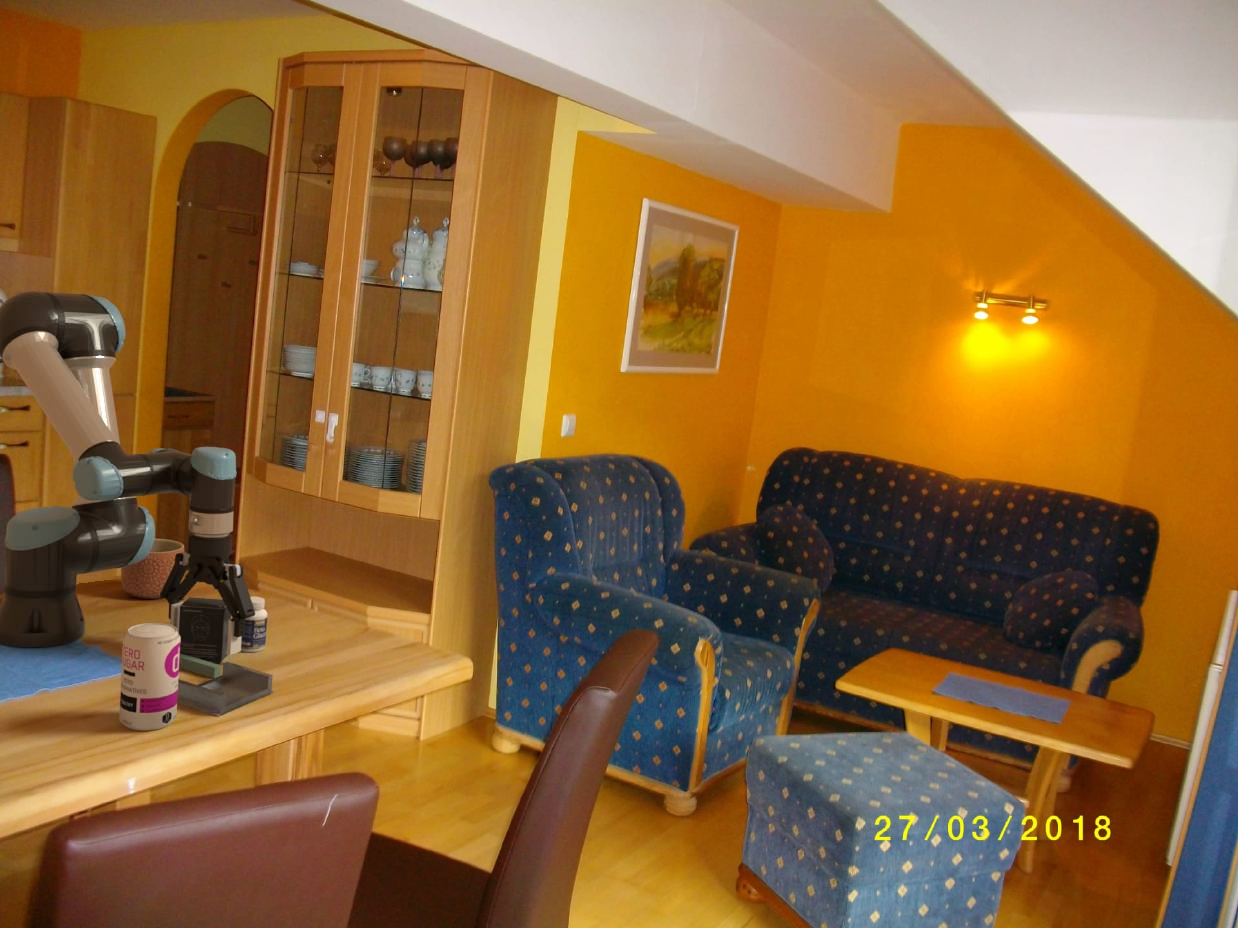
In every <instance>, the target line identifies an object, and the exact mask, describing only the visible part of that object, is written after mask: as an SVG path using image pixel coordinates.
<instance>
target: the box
mask: <svg viewBox="0 0 1238 928" xmlns="http://www.w3.org/2000/svg"><path fill="white" fill-rule="evenodd" d="M183 602H184V603H182V604H181V605H180V612H179V636H180V637H181V640H180V653H181V654H184V655H187V656H191V657H194V658H198V659H201V660H204V661H208V662H211V663H215V664H217V663H219V664H221V663H223V661H224V660H225V659H226V658H227V656H229V655H228V654H227V642H228V623H229V619H232V616H231V614H230V612H229V610H228V609H227V607H226V605H225V603H224V601H223V599H222V598H221V599H219V598H218V599H217V598H206V597H205V598H203V597H188V598H187V599H186V600H185V601H183Z"/></svg>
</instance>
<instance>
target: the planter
mask: <svg viewBox="0 0 1238 928" xmlns="http://www.w3.org/2000/svg"><path fill="white" fill-rule="evenodd" d="M182 552H185V545H184V544H183V543H182V542H179V541H176V540H172V539H166V538H155V539H154V543H153V546H152V549H151V550H150V551H149V554H148V555H147V556H146V557H145V558H144V559H143V560H142V561H140V562H139V563H136V564H132V565H128V566H126V567H123V568H120V580H121V586H122V588H123V589H124V590H125V591H126V593H128V595H130V596H132V597H134V598H138V599H143V600H155V599H156V600H157V599H162V598H161V597H160V593H161V591H162V589H163V587H164V585H165V583H166V581H167V578H168V576H169V574H170V572H171V570H172V568H173V566H174V563H175V556H176V554H177V553H182ZM181 582H182V581H181ZM181 582H180V583H181Z"/></svg>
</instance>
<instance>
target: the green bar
mask: <svg viewBox="0 0 1238 928" xmlns="http://www.w3.org/2000/svg"><path fill="white" fill-rule="evenodd" d="M179 669H181V670H185V671H187V672H192V673H195V674H197V675H201V676H204V677H208V678H211V679H214V678H216V677H219V676H222V675H221V673H222V672H221V671H222V665H221V664H217V663H215V662H208V661H204V660H201V659H198V658H194V657H191V656H187V655H184V654H181V653H180V659H179Z"/></svg>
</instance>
